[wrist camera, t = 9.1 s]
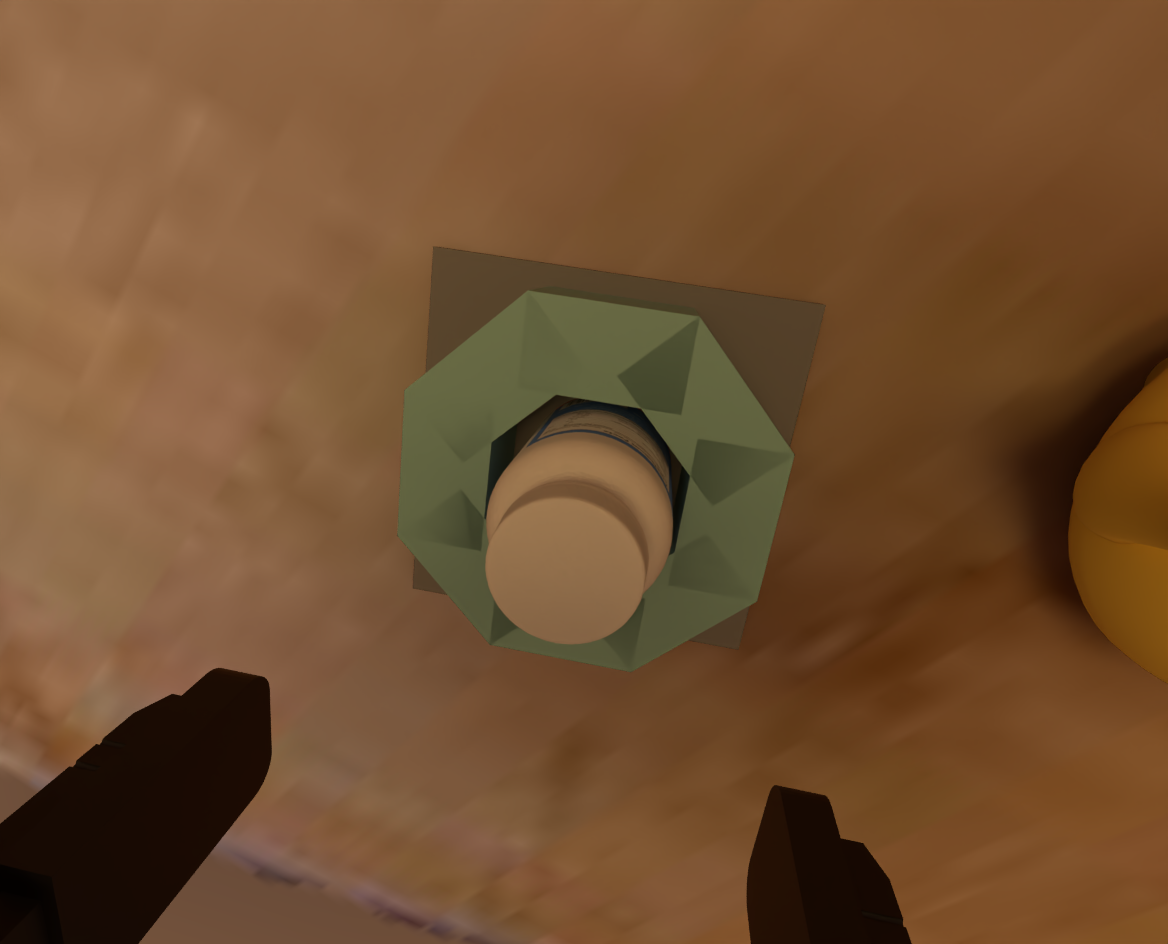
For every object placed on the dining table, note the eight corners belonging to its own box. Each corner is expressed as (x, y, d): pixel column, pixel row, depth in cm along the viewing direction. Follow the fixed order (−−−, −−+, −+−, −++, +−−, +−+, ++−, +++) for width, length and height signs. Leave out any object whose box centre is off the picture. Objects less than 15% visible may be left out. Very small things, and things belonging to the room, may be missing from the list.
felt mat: (823, 304, 23) (825, 305, 22) (737, 644, 27) (738, 649, 27) (437, 246, 24) (433, 246, 23) (416, 583, 28) (412, 588, 28)
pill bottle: (607, 550, 26) (570, 710, 17) (506, 463, 25) (409, 579, 16) (703, 456, 24) (721, 577, 15) (597, 360, 24) (547, 424, 14)
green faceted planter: (798, 323, 22) (825, 335, 19) (724, 631, 26) (733, 692, 23) (451, 270, 23) (410, 272, 20) (430, 576, 27) (392, 626, 24)
